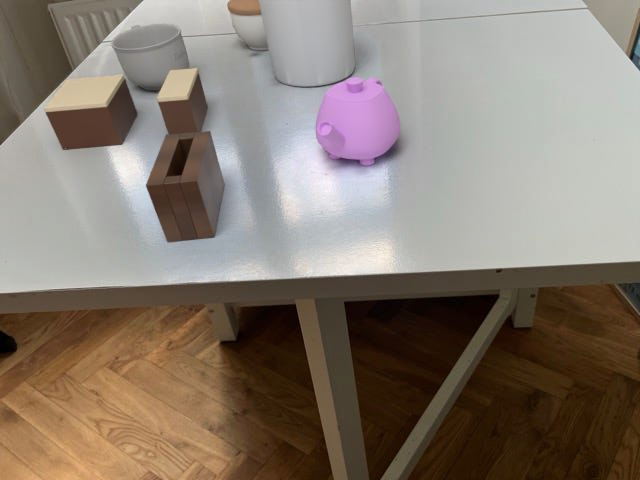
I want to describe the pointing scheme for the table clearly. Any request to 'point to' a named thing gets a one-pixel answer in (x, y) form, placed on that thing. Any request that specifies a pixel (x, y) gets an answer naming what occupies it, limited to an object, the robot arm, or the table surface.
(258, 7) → the trinket box
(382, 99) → the teapot
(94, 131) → the cake
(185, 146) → the knife block
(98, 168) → the table surface
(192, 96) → the cake slice
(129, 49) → the teacup
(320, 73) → the utensil holder
